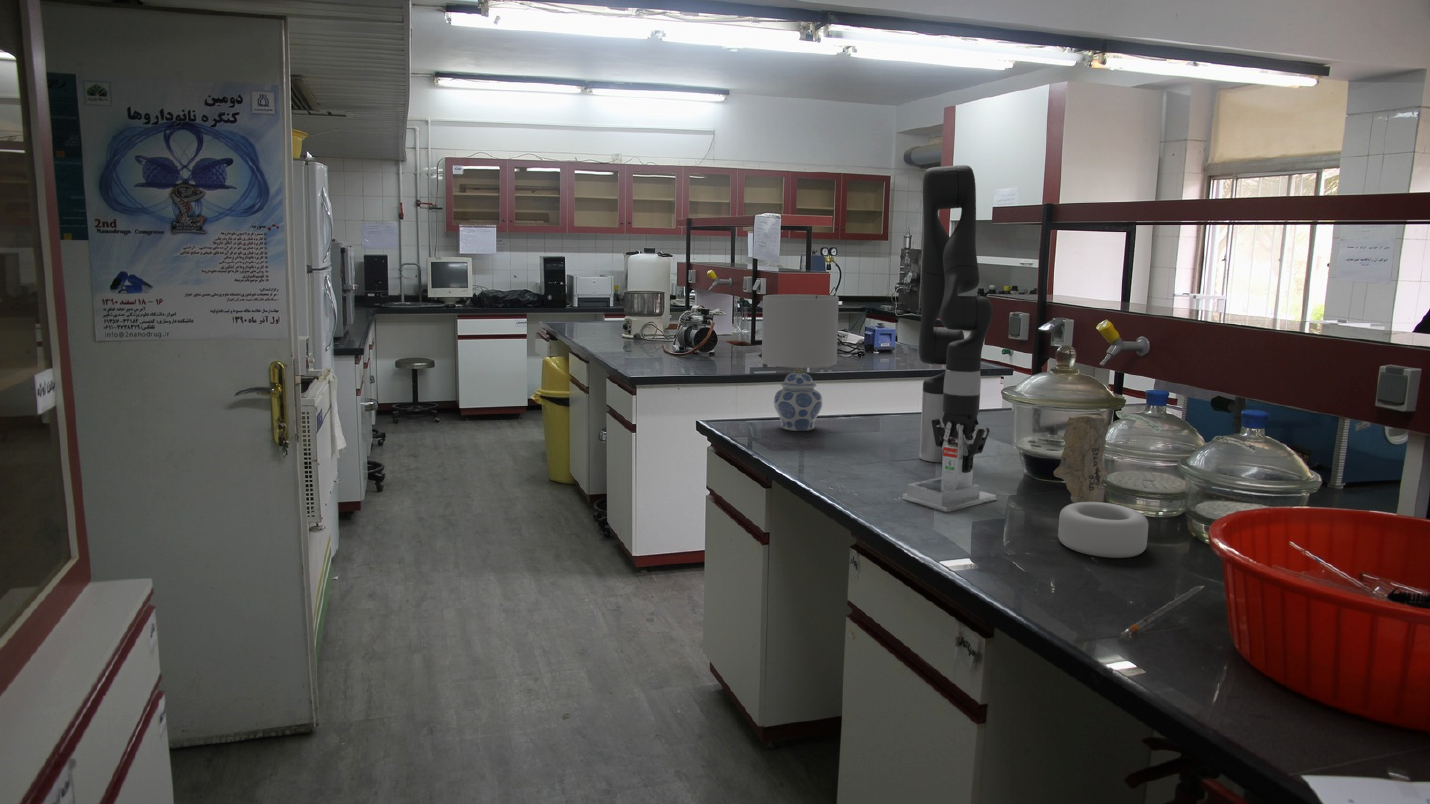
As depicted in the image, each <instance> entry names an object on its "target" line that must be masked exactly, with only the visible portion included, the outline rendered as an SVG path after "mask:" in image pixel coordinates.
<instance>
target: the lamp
mask: <svg viewBox="0 0 1430 804" xmlns="http://www.w3.org/2000/svg"><path fill="white" fill-rule="evenodd" d="M839 298H840V297H839V296H835V295H834V296H832V295H823V294H821V295H820V294H797V293H796V294H794V293H793V294H768V295H763V296H762V326H761V327H762V328H761V329H762V331H761V332H762V333H761V335H762V337H761V340H762V341H761V363H762V364H764V365H769V366H771V367H772V366H774V367H780V368H781V367H782V368H795V369H794V372H791V373H789V374H787V375H786V376H785V378H784V380H783V382H781V383H780V386H781V387H782V388H781V389H779V390H778V391H777V392H776V393H775V395H774V398H773V407H774V409H775V411H776V413H777V415H778V417H779V419H780V422H781V424H780V428H781V429H783V430H786V431H790V432H791V431H792V432H793V431H794V432H807V431H812V430H813V429H815V425H814V424H815V421H816V419H817V417H818V416H819V414H820V412H821V410H822V408H823V397H822V395H821V394H822V393H820V392H819V391H818V390H816V389H815V388H816V387H817V383H815V382H814V380H813V377H812V376H811V375H810V374H807V373H805V372H804V371H803V370H804V369H809V368H816V369H817V368H826V367H831V366H835V365H837V361H838V332H839V330H838V329H839V305H840V304H839V302H840V301H839V300H840V299H839Z"/></svg>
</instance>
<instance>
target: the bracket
mask: <svg viewBox="0 0 1430 804" xmlns="http://www.w3.org/2000/svg"><path fill="white" fill-rule="evenodd" d="M941 481H942V476H939V477H935V478H930V479H926V480H921V481H917V482H912V483H908V484H907V490H906V491H907V492H906V493H903V494H902V500H904V501H908V502H911V503H916V504H918V505H921V506H925V507H928V508H932V509H934V510H936V511H937V510H938V511H941V512H945V513H949V512H953V511H957V510H960V509H966V508H969V507H973V506H977V505H981V504H985V503H989V502H993V501H996V500H997V494H993V493H989V492H986V491H982V490H981V485H979V484H976V483H974V484H972V485H970V486H966V487H961V488H957V489H953V490H948V491H941Z"/></svg>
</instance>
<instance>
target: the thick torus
mask: <svg viewBox="0 0 1430 804" xmlns="http://www.w3.org/2000/svg"><path fill="white" fill-rule="evenodd" d="M1058 519H1059V520H1058V532H1057V537H1058V539H1059V542H1060V544H1062V545H1064V547H1066V548H1068V549H1070V550H1072V551H1074V552H1078V553H1081V554H1085V555H1089V556H1093V557H1099V558H1110V559H1123V558H1124V559H1125V558H1132V557H1136V556H1139V555H1141V554H1142V553H1143V552H1145V550H1146V549H1147V547H1148V546H1147V545H1148V533H1149V520H1148V519H1147V517H1146V516H1145V515H1143V513H1141V512H1139V511H1137V510H1136V509H1134V508H1130V507H1128V506H1123V505H1119V504H1115V503H1108V502H1097V501H1095V502H1079V503H1073V502H1072V503H1070V504H1068V505H1066V506H1064V507H1063V508H1062V509H1061V510H1060V513H1059V517H1058Z"/></svg>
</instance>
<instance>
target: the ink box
mask: <svg viewBox="0 0 1430 804" xmlns="http://www.w3.org/2000/svg"><path fill="white" fill-rule="evenodd" d="M962 430H963V425H960V426H958V442H956V443H953V444H950V445H947V446H944V447H943V461H942V462H941V463H942V466H941V467H942V468H941V477H942V481H941V491H948V490H953V489H957V488H961V487H966V486H970V485H973V479H974V478H973V474H974V471H973V470H974V468H973V469H972V470H971V472H968V473H963V472H962V463H963V456H964V454H963V445H962ZM975 432H976V431H974V435H975ZM968 439H969V438H968ZM968 439H966V441H967V440H968ZM968 448H969V447H968Z"/></svg>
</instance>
